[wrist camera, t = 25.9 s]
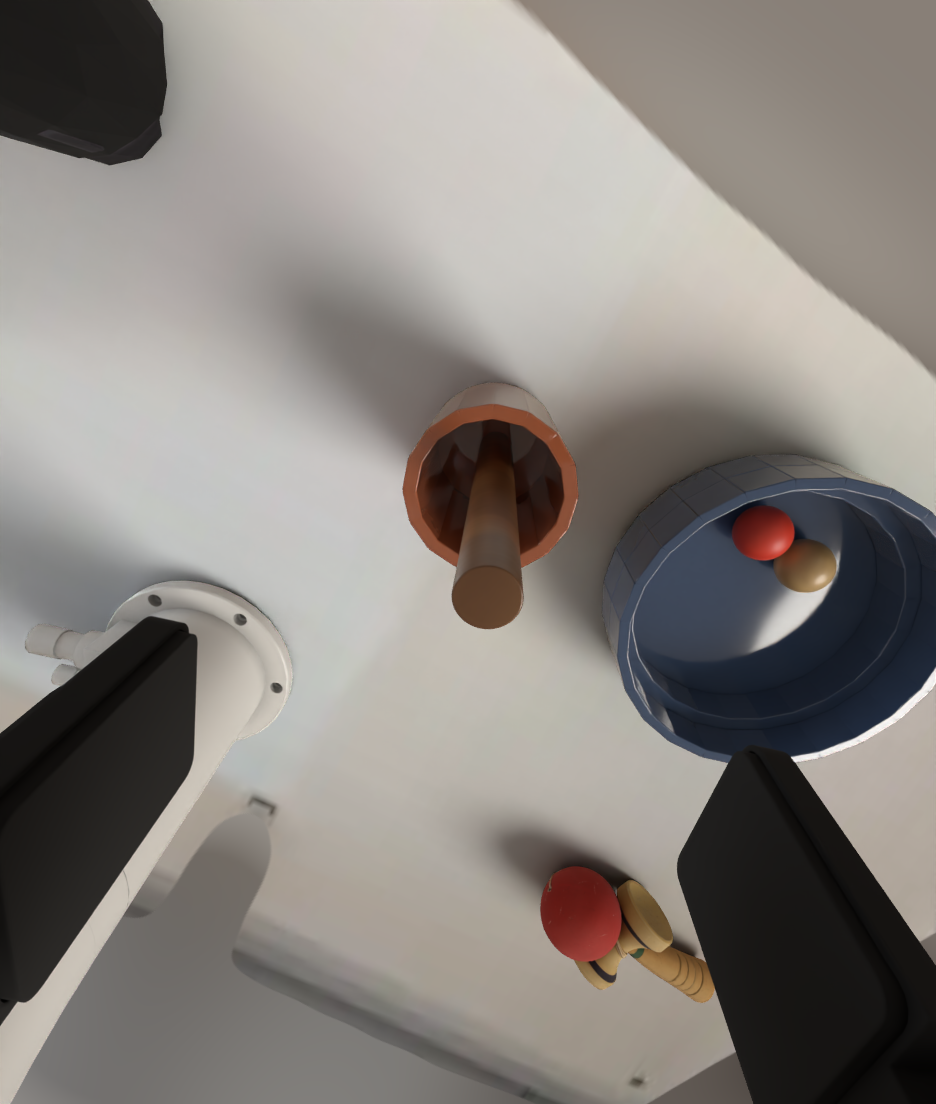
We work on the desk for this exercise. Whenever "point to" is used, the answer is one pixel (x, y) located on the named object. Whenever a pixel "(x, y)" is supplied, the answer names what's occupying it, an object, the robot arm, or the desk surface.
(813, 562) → the beech bead
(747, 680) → the bowl
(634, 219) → the desk surface
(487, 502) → the stick
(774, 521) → the red bead
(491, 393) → the holder
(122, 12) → the portable speaker
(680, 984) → the kendama
